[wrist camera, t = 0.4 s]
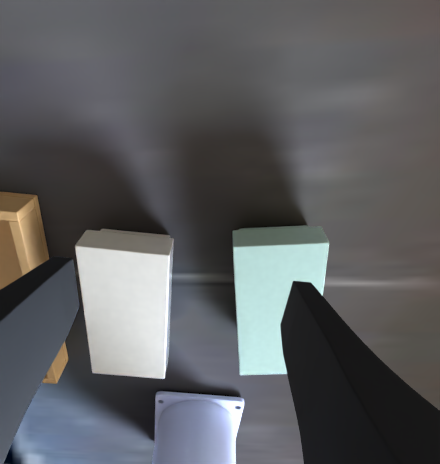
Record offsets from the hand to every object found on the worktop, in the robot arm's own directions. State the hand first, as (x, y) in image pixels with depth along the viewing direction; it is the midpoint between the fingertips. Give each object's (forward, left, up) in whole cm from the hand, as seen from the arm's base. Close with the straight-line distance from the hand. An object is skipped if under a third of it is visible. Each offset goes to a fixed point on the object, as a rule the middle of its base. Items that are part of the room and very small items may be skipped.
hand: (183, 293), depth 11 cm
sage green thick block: (-7, -6, -10) cm, 13 cm away
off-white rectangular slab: (-9, +4, -10) cm, 14 cm away
